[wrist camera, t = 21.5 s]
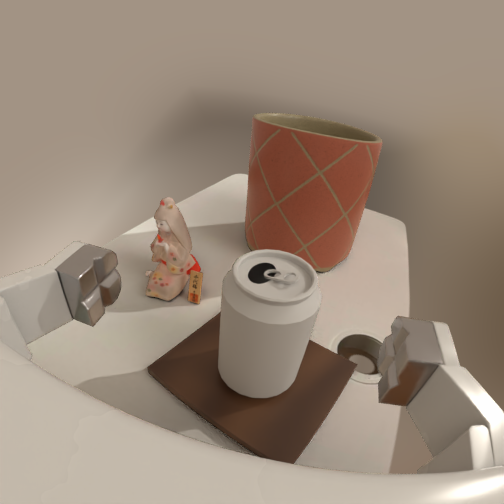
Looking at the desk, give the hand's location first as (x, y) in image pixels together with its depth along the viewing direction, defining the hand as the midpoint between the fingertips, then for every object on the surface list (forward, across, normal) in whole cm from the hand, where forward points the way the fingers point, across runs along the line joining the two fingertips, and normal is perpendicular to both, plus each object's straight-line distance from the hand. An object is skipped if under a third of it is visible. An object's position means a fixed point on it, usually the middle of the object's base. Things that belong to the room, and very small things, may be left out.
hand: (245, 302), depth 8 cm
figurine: (+22, +14, +20) cm, 33 cm away
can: (+12, 0, +19) cm, 23 cm away
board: (+12, 0, +20) cm, 23 cm away
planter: (+40, 0, +20) cm, 45 cm away
